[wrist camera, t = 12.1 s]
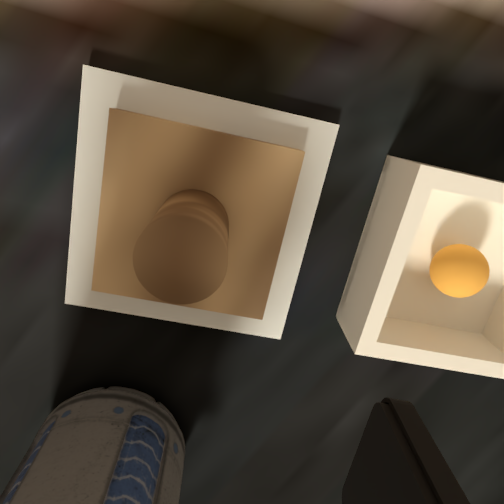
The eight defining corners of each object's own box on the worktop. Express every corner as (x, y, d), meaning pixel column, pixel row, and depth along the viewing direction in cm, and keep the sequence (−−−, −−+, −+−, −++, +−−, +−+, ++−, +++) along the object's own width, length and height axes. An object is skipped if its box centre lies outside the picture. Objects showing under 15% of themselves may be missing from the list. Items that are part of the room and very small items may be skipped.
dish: (551, 192, 25) (616, 209, 21) (482, 342, 29) (525, 382, 24) (387, 154, 24) (420, 164, 20) (335, 316, 27) (354, 353, 23)
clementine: (477, 242, 25) (511, 260, 22) (458, 288, 26) (488, 311, 23) (430, 232, 25) (458, 249, 22) (413, 279, 26) (437, 301, 23)
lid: (301, 150, 23) (331, 166, 16) (260, 310, 26) (271, 381, 19) (115, 108, 22) (62, 106, 15) (97, 282, 25) (46, 346, 18)
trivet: (336, 124, 23) (339, 124, 22) (279, 333, 28) (280, 339, 27) (88, 66, 21) (82, 64, 21) (69, 297, 26) (64, 303, 25)
